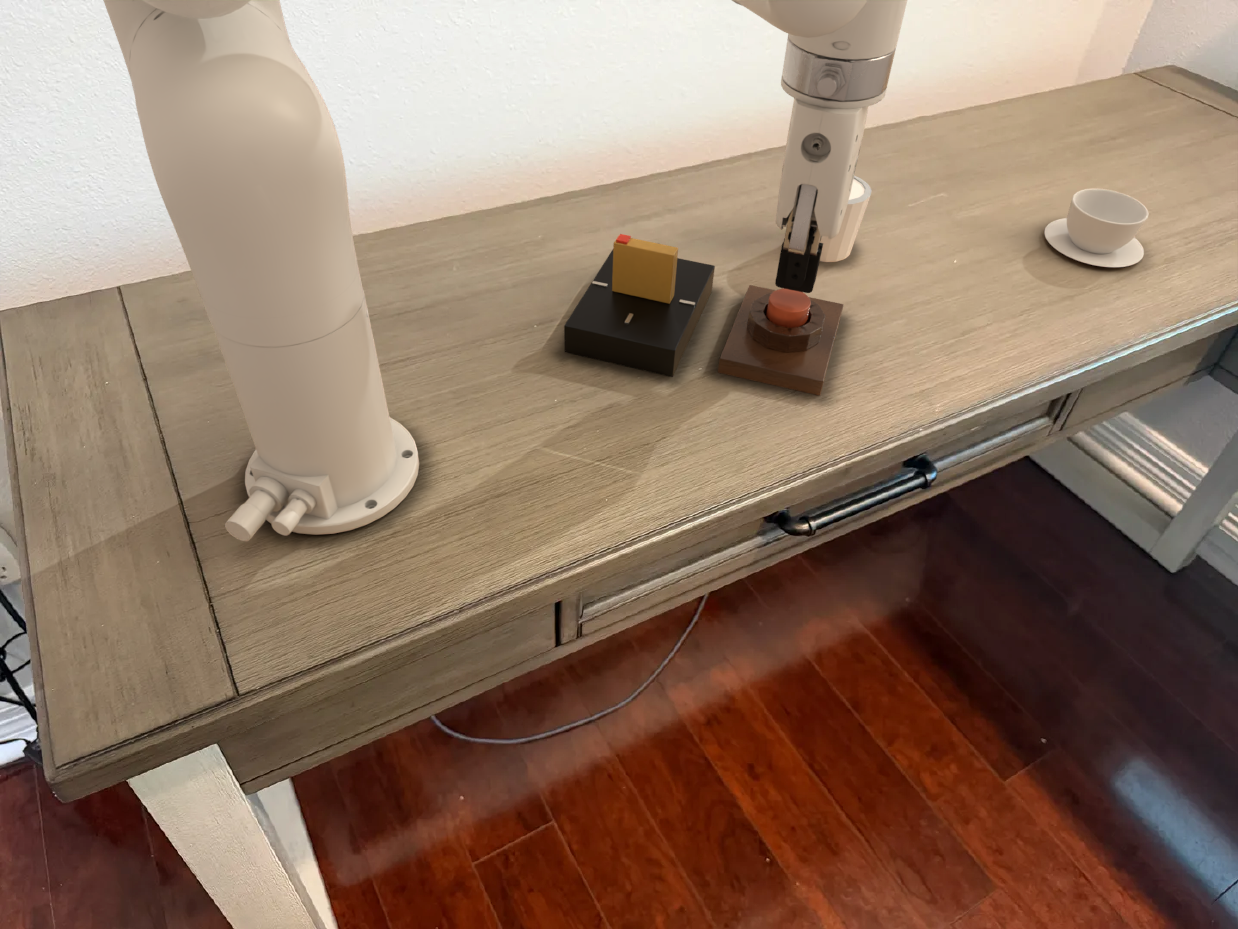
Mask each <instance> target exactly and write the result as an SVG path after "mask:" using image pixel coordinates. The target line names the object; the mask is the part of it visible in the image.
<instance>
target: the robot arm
mask: <svg viewBox="0 0 1238 929" xmlns="http://www.w3.org/2000/svg"><path fill="white" fill-rule="evenodd" d="M731 1H732V2H733V3H735V4H736V5H740V6H742V7H744V8H745V9H747V10H749V11H750V12H752V13H753V14H755V15H756V16H757V17H759V18H761V19H763V20H764V21H765V22H767V23H769V24H770V25H772V26H773V27H775V28H777V29H778V30H780V31H782V32H783V33H785V34H787V38H786V47H785V52H784V58H783V59H784V60H783V65H782V66H783V67H782V74H781V79H780V86H781V88H782V90H783V91H784V93H786V94H787V95H788V96H790V97H792V98H793V103H792V108H791V109H792V110H791V114H790V121H789V126H788V130H787V131H788V132H787V137H786V142H785V151H784V154H783V163H782V169H781V175H780V183H779V190H778V197H777V198H778V199H777V205H776V215H775V224H776V226H777V227H778V228H779V229H780V231H782V230H783V229H784V228H785V233H784V234H785V235H784V239H783V242H782V244H781V248H780V253H779V259H778V263H777V264H778V265H777V270H776V275H775V276H776V277H775V282H774V283H775V284H774V285H775V286H776V287H777V288H779V289H789V290H794V291H799V292H803V293H805V294H811V293H812V292H813V291H814V287H815V283H816V281H817V275H818V271H819V266H820V262H821V261H820V257H821V252H822V247H823V243H819V242H820V241H821V239H822V236H826V237H828V239H832V238H834V237H835V236H836V235H838V233H839V230H840V227H841V224H842V221H843V218H844V214H845V211H846V208H847V204H848V201H849V197H850V193H851V189H852V184H853V179H854V176H855V174H856V170H857V165H858V161H859V157H860V152H861V148H862V142H863V138H864V133H865V129H866V128H865V127H866V123H867V118H868V112H869V107H871V106H874V105H876V104H878V103H879V102H881V101H882V100H883V99H884V98H885V96H886V93H887V88H888V84H889V80H890V75H891V71H892V67H893V62H894V58H895V54H896V51H897V50H896V49H897V45H898V42H899V38H900V33H901V29H902V24H903V20H904V17H905V12H906V8H907V3H908V0H731ZM103 4H104V6H105V9H106V11H107V15H108V17H109V20H110V22H111V25H112V29H113V31H114V34H115V36H116V39H117V42H118V45H119V48H120V51H121V53H122V57H123V59H124V62H125V65H126V68H127V71H128V75H129V78H130V81H131V86H132V90H133V94H134V100H135V107H136V112H137V116H138V120H139V124H140V128H141V133H142V137H143V142H144V146H145V149H146V153H147V156H148V160H149V164H150V167H151V170H152V173H153V176H154V179H155V182H156V185H157V188H158V191H159V193H160V197H161V198H162V202H163V204H164V207H165V210H166V211H167V214H168V216H169V218H170V221H171V222H172V226H173V228H174V230H175V233H176V236H177V238H178V240H179V243H180V245H181V248H182V251H183V253H184V256H185V258H186V261H187V263H188V266H189V269H190V272H191V274H192V277H193V280H194V282H195V285H196V288H197V291H198V294H199V297H200V299H201V302H202V304H203V307H204V310H205V313H206V315H207V319H208V321H209V324H210V325H211V327H212V330H213V333H214V335H215V338H216V341H217V344H218V347H219V350H220V352H221V356H222V358H223V360H224V363H225V366H226V370H227V373H228V375H229V377H230V380H231V383H232V386H233V389H234V392H235V394H236V397H237V399H238V402H239V406H240V408H241V411H242V414H243V416H244V420H245V422H246V425H247V428H248V430H249V433H250V435H251V439H252V442H253V444H254V448H255V450H254V451H253V453H252V455H251V456H250V458H249V459H248V463H247V466H246V468H245V471H244V472H245V473H244V485H245V490H246V494H247V496H248V498H247V500H246V501H245V502H244V503H242V504H240V505H239V506H238V508H237V509H236V510H235V511H234V512H233V513H232V515H231V516H230V517H229V518H228V519H227V521H226V522H225V524H224V527H225V530H226V531H227V532H228V533H229V535H231V536H232V537H234V538H235V539H236V540H238V541H241V542H249V541H250V540H251V539H252V538H253V537H254V536H255V534H256V533H257V532H258V531H259V529H261V527H262V526H263V525H264V524H265V522H266V521H267V522H268V523H270V524H271V528H272V529H273V530H274V531H275V532H276V533H277V534H279V535H281V536H285V537H288V536H289V535H291V533H292V532H293V533H296V534H303V535H304V534H305V535H316V536H317V535H330V534H331V535H332V534H337V533H338V534H339V533H343V532H349V531H352V530H355V529H359V528H361V527H364V526H366V525H369V524H371V523H373V522H375V521H377V520H379V519H381V518H382V517H384V516H385V515H387V514H388V513H390V512H391V511H393V510H394V509H395V508H397V506H398V505H399V504H400V503H402V501H404V500H405V498H407V496H408V495H409V493H410V492H411V490H412V489H413V488H414V485H415V483H416V480H417V478H418V476H419V469H420V459H419V451H418V448H417V445H416V441H415V439H414V437H413V436H412V434H411V433H410V431H409V430H408V429H407V428H406V427H405V426H404V425H402V423H400V422H399V421H397V420H396V419H393V418H392V417H391V416H390V413H389V408H388V402H387V398H386V393H385V389H384V383H383V378H382V374H381V368H380V363H379V358H378V354H377V348H376V343H375V340H374V335H373V334H374V333H373V329H372V325H371V320H370V315H369V308H368V304H367V299H366V294H365V290H364V287H363V282H362V278H361V273H360V268H359V263H358V257H357V251H356V247H355V242H354V241H355V240H354V236H353V229H352V228H353V227H352V222H351V215H350V205H349V204H350V203H349V195H348V194H349V193H348V183H347V174H346V166H345V160H344V155H343V150H342V146H341V142H340V139H339V135H338V131H337V129H336V127H335V126H336V125H335V124H334V121H333V118H332V116H331V113H330V110H329V108H328V106H327V104H326V102H325V100H324V97H323V96H322V94H321V92H320V90H319V88H318V86H317V85H316V83H315V81H314V80H313V78H312V76H311V74H310V72H309V70H308V69H307V68H306V66H305V64H304V63H303V61H302V60H301V59H300V57H299V56H298V55H297V53H296V50H295V49H294V48H293V45H292V43H291V39H290V36H289V33H288V30H287V26H286V22H285V18H284V17H285V16H284V13H283V9H282V4H281V1H280V0H103Z"/></svg>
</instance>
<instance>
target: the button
mask: <svg viewBox="0 0 1238 929" xmlns="http://www.w3.org/2000/svg"><path fill="white" fill-rule="evenodd" d="M775 290H776V291H774V292H773V293H772V294H771V295H770V297H769V302H768V308H767V317H768V319H769V320H770V321H771V322H772V323H774V324H776V325H778V326H783V327H787V328H793V327H800V326H802V325H804V324H805V323H806V321H807V319H808V314H809V310H810V305H811V301H810V298H809V297H810V296H809V295H807V293H804V292H799V291H794V290H789V289H784V288H779V289H775Z"/></svg>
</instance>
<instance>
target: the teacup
mask: <svg viewBox="0 0 1238 929" xmlns="http://www.w3.org/2000/svg"><path fill="white" fill-rule="evenodd" d="M1148 218H1149V210H1148V209H1147V207H1146V206H1145V204H1143V203H1142V202H1141V201H1139V200H1138V199H1136V198H1135V197H1133V196H1132V195H1131V196H1130V195H1128V194H1127V193H1126V194H1125V193H1123V192H1120V191H1116V190H1114V189H1113V190H1112V189H1108V188H1107V189H1106V188H1097V187H1096V188H1085V189H1081V190H1078V191H1076V192H1075V193H1074V194H1073V195H1072V197H1071V201H1070V204H1069V208H1068V211H1067V215H1066V217H1063V218H1058V219H1055V220H1053V221H1051V222H1049V223H1048V224H1047V225H1046V226H1045V228H1044V237H1045V239H1046V241H1047V242H1048V243H1049V245H1051V247H1053V248H1054V249H1055V250H1056V251H1058V252H1059V253H1061V254H1063V255H1064V256H1066V257H1068V258H1070V259H1073V260H1075V261H1078V262H1081V263H1084V264H1087V265H1092V266H1097V267H1104V268H1124V267H1125V268H1126V267H1129V266H1133V265H1135V264H1137V263H1139V262H1140V261H1141V260H1142V259H1143V257H1144V255H1145V250H1144V247H1143V245H1142V244H1141V242H1140V241H1139V240H1138V239H1137V238H1136V236H1137V234H1139V231H1140V230H1141V229H1142V227H1143V226H1144V225H1145V223H1146V221H1147V220H1148Z"/></svg>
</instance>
